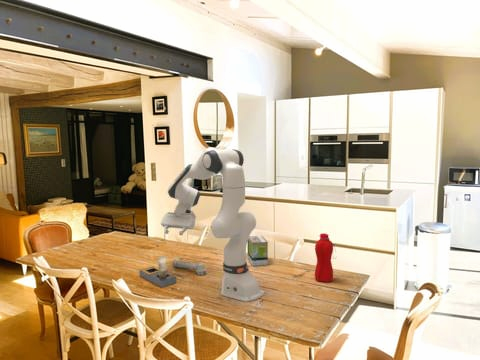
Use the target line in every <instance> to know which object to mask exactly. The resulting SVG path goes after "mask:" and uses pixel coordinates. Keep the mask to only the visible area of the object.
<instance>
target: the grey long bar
mask: <svg viewBox="0 0 480 360" xmlns="http://www.w3.org/2000/svg"><path fill="white" fill-rule="evenodd" d="M172 267H175V268H177V269H179V268H182V269H191V270H192V269H193V270H195V272H196V275H197V276H204V275H206V274H207V268H206V267H205V263H203V262H201V263H195V262H191V261H184V260H181V259H178V260H177V259H175V260H173V262H172Z"/></svg>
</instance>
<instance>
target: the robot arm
mask: <svg viewBox="0 0 480 360" xmlns="http://www.w3.org/2000/svg"><path fill="white" fill-rule="evenodd" d="M244 158H245V157H244V155H243V153H242V152H241V151H240V150H237V149H235V148H234V149H227V148H220V149H218V148H216V147H213V146H212V147H211V146H209V147H207V148H206V149H205V150H204V151H203V152H202V153H201V155H200V156H199V158H198V159H197V161H196V162H195V163H190V164H188V165H187V166H185V168H184V169H183V170H182V171H181V172H180V174H179V175H178V176H177V177H176V178H175V179H174V180H173V181H172V183H170V185H169V186H168V189H167V194H168V196H169V198H172V199H175V200H178V202H177V205H176V206H175V209H174V211H173V212H166V213H164V216H163V217H162V219H161V221H160V225H161V227H163V228H164V234H167V235H168V234H169V232H170V231H169V228H170V229H171V228H172V229H181V230H180V231H179V233H178V234H179V236H183V235H184V233H185V232H187V230H193V229H194V228H195V224H196V219H197V216H196V214H195V213H194V211H193V210H191V209H192V207H195V206H197V205H198V203H199V199H200V198H201V193H200V191H199V190H198V189H196V188H195V187H192V186H190V185H187V184H185V183H184V182H185V181H186V180H188V179H196V180H200V181H201V180H202V181H204V180H208V179H211V178H212V177H213V176H214V174H215V175H218V174H221V177H222V198H221V206H220V209H219V211H218V214H217V216H216V217H215V218H214V219H213V220H212V221H211V225H210V230H211V233H212V235H213V236H214V237H215V238H216V239H229V240H228V241H227V243H226V244H225V245H224V246H223V263H222V268H223V269H222V270H223V275H222V284H221V291H220V295H221V296H224V297H226V298H229V299H230V298H231V299H234V300H237V301H240V302H245V303H247V302H252V301H255V300H257V299H259V298H261V297H263V296H264V295H265V291H264V290H263V289H261V288H260V284H259V281H258V280H257V278H256V277H255V276H254V275H253V274H252V273H251V271H250V265H248V263H247V246H248V238H249V236H251V234H252V232H253V231H254V230H255V229H256V225H257V219H256V216H255V215H254V214H253V213H252V212H250V211H249V212H247V211H240V209H241V208H242V206H244V204H245V202H246V178H245V171H244V168H243V164H244V161H245V159H244Z"/></svg>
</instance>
